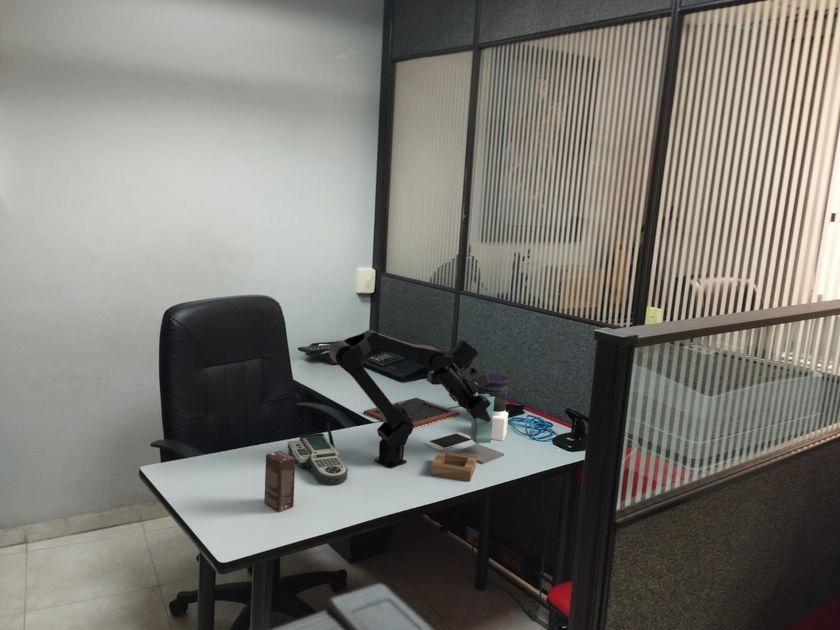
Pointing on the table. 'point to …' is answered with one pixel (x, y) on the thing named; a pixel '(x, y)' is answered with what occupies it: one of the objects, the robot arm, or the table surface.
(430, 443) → the smartphone
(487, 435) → the peg
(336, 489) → the table surface
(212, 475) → the table surface
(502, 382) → the storage jar
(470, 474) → the pocket block
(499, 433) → the medicine bottle
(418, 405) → the picture frame
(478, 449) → the mat
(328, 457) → the communication device
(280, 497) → the box
